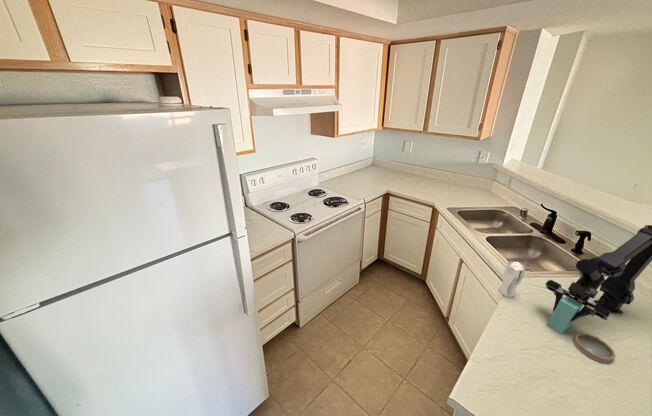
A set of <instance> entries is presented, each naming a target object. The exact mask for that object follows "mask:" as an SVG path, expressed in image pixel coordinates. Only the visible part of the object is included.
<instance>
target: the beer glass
mask: <svg viewBox="0 0 652 416" xmlns="http://www.w3.org/2000/svg"><path fill="white" fill-rule="evenodd" d="M526 270H527V267H526V266H525V265H524V264H522V263H520V262H518V261H508V262H507V265H506V266H505V269H504V270H503V271H504V272H503V274H502V275H503V276H502V283H501V285H500V286H499V287H498V292H499V293H500V294H501V295H502V296H504V297H506V298H513V297H515V292H516V290H517V288H518V286H519V285H520V284H521V282H522V281H523V279H524V276H525V273H526Z"/></svg>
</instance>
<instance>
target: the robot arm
mask: <svg viewBox="0 0 652 416" xmlns="http://www.w3.org/2000/svg"><path fill="white" fill-rule="evenodd" d="M651 262H652V224H646V225H644V227H642V228H640V229H639V230H637V233H636V234H635V235H634V236H631V238H629V239H628V240H627V241H626V242H624V243H623V244H621V245H620V246H618V247H617V248H616V249H615V250H614V251H610V252H609V251H608V252H603V253H602V254H601V255H599V256H596V257H592V258H590V259H589V258H585V259H580V260H578V261H576V263H575V268H576V269H577V272H578V274H579V278H578V279H577V280H576V281H575V282H574V281H572V282H571V284H570V285H569V286H568V288H567V289H564V288H563V287H562V284H560V283H558V282H556V281H554V280H552V279H549V280H547V281H546V283H545V287H546V289H547V290H549V291H551V292H552V293H553V295H554V296H555V301H554V305H553V309H552V311H553V312H554V310H555V309H556V307H557V305H558V303H559V301H560V300H561V299H562V298H564V297H565V296H568V297H570V298H571V299H573V300H575V301H577V302H579V303H581V304H582V307H581V308H580V310H579V312H578V313H577V314H576V315H575V316H574V317H573V318H572V319H571V320H570V321H571V322H572V323H573V322H575V321H577V320H579V319H581V318H583V317H586V316H592V317H594V316H596V317H598V318H600V319H602V320H605V321H608V319H609V317H610V316H611V314H612V313H615V314H623V313H624V311H623V310H621V308H622V307H623V305H631V303H632V302H633V301H634V299H635V296H634V293H633V292H634V291H635V290H636V283H635V281H636V280H637V278H638V277H639V276H640V275H641V274H642V273H643V272H644V270H645V269H646V268H647V267H648V265H650V264H651ZM605 275H606V276H607V277H606V278H605ZM599 291H600V292H602V295H601V296H600V297H599V299H595V298H596V297H597V295H598V293H599ZM590 299H594V300H593V302H594V303H596V304H594V303H591V302H589V300H590Z"/></svg>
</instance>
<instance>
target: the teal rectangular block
mask: <svg viewBox="0 0 652 416" xmlns="http://www.w3.org/2000/svg"><path fill="white" fill-rule="evenodd" d="M582 308H583V305H582V304H581V303H579V302H577V301H575V300H573V299H571V298H570V297H568V296H565V295H564V296H563V298H562V299H561V300H560V301H559V303H558V305H557V307H556V309H555V310H554V311H553V313H552V314H551V316H550V317H549V319H548V321H547V323H546V326H547V327H549V328H551V329H552V330H554V331H555V332H557V333H559V334H560V335H563V334H564V333H565V332H567V330H569V328H570V326H571V325H572V323H573V322H571V321H570V320H571V319H572V318H573V317H574V316H575V315H576V314H577V313H578V312H579V311H580V310H581V309H582Z"/></svg>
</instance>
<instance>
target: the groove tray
mask: <svg viewBox="0 0 652 416" xmlns="http://www.w3.org/2000/svg"><path fill="white" fill-rule="evenodd" d="M572 343H573V345H574V347H575V348H576V349H577V351H579V352H580V353H581V354H582V355H584V356H586V357H587V358H589V359H591V360H593V361H594V362H598V363H601V364H606V365H607V364H611V363H613V361H614V360H615V358H616V353H615V351H614V349H613V348H612V347H611V346H610V345H609V344H608V343H606V342H605V341H604V340H602V339H600V337H596V336H594V335H592V334H589V333H581V332H580V333H578V334H576V335H575V336H574V337H573V339H572Z"/></svg>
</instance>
